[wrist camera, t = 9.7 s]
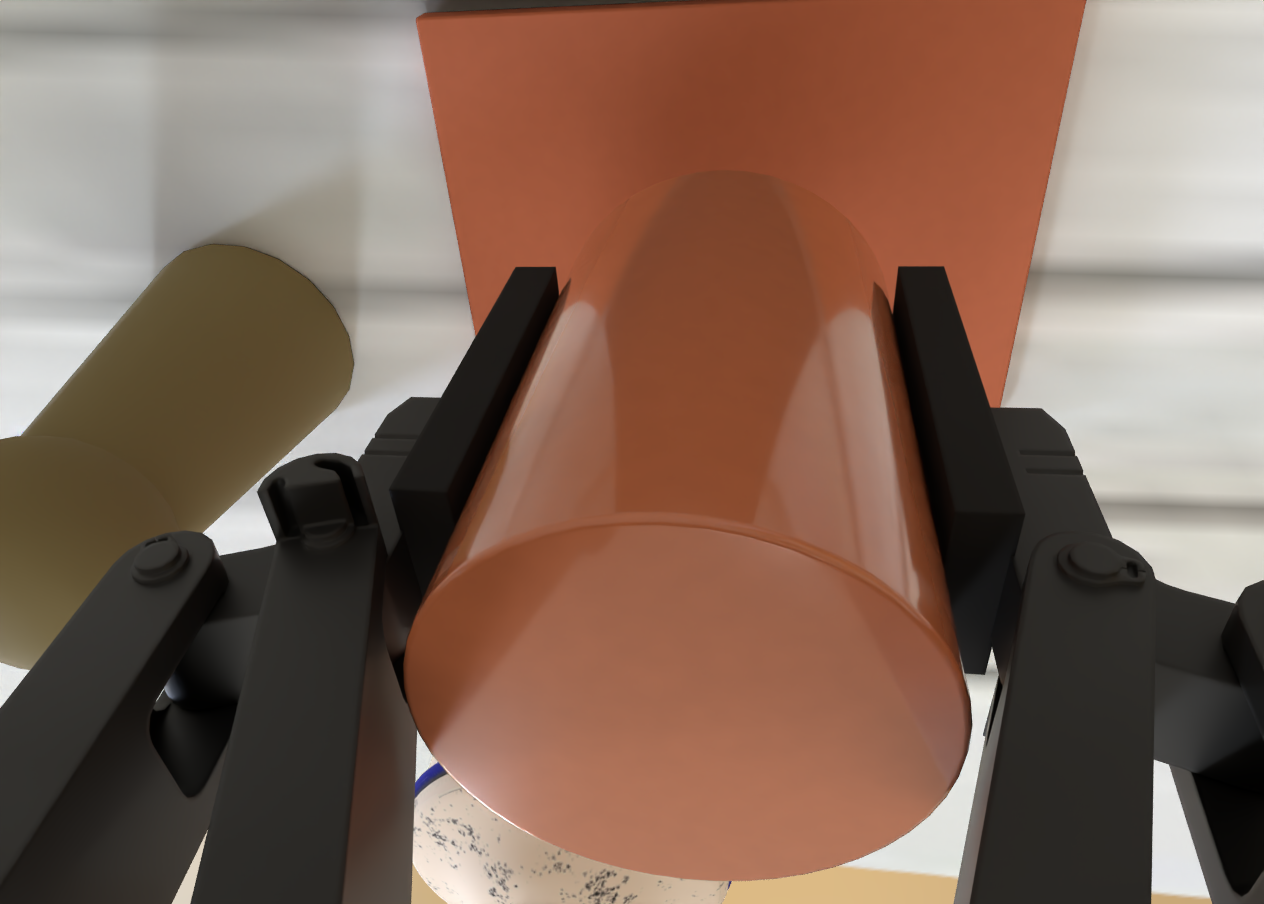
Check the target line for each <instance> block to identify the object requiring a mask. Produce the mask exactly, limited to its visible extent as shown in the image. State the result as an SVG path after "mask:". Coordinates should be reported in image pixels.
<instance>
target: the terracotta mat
mask: <svg viewBox="0 0 1264 904" xmlns="http://www.w3.org/2000/svg"><path fill="white" fill-rule="evenodd" d="M1085 3H1086V0H689V1H668V2H647V3H625V4H604V5H583V6H561V7H540V8H518V9H497V10H476V11H454V12H433V13H424V14H422V15H421V16H419V17H417V18H416V23H417V29H418V34H419V39H420V45H421V50H422V55H423V60H424V66H425V71H426V76H427V82H428V87H429V92H430V97H431V103H432V108H433V113H434V119H435V124H436V129H437V134H438V140H439V145H440V150H441V156H442V161H443V166H444V171H445V177H446V182H447V187H448V193H449V198H450V203H451V208H452V214H453V219H454V224H455V230H456V235H457V240H458V245H459V251H460V256H461V261H462V266H463V272H464V277H465V282H466V288H467V293H468V298H469V303H470V309H471V314H472V319H473V325H474V330H475V335H477V334H478V332H479V330H480V328H481V327H482V325H483V323H484V321H485V320H486V318H487V316H488V314H489V313H490V311H491V309H492V307H493V305H494V304H495V302H496V300H497V298H498V297H499V295H500V293H501V291H502V290H503V288H504V286H505V284H506V283H507V281H508V279H509V277H510V276H511V274H512V272H513V270H514V269H515V267H556V272H557V280H558V288H559V295H560V293H561V291H562V289H563V287H564V284H565V282H566V280H567V278H568V275H569V273H570V271H571V269H572V267H573V264H574V262H575V260H576V258H577V255H578V254H579V252H580V250H581V249H582V247H583V245H584V244H585V242H586V240H587V238H588V237H589V236H590V235H591V233H592V232H593V231H594V230H595V228H596V227H597V226H598V225H599V223H600V222H601V221H602V220H603V219H604V218H605V217H607V216H608V215H609V214H610V213H611V212H612V211H613V210H614V209H615V208H616V207H618V206H619V205H620V204H622V203H623V202H625V201H626V200H627V199H629V198H630V197H632V196H633V195H635V194H637V193H639V192H641V191H643V190H644V189H646V188H648V187H650V186H652V185H654V184H657V183H660V182H663V181H665V180H668V179H671V178H674V177H677V176H682V175H687V174H691V173H696V172H704V171H716V170H732V171H748V172H753V173H759V174H764V175H770V176H773V177H776V178H779V179H782V180H785V181H788V182H792V183H794V184H796V185H798V186H800V187H802V188H804V189H806V190H809V191H811V192H813V193H814V194H816V195H817V196H819V197H820V198H822V199H823V200H825V201H827V202H828V203H830V204H831V205H832V206H834V207H835V208H836V209H837V210H838V211H839V212H841V213H842V214H843V215H844V216H845V217H846V218H847V219H849V221H850V222H851V223H852V224H853V225H854V226H855V227H856V229H857V230H858V231H859V232H860V233H861V234H862V236H863V237H864V239H865V240H866V242H867V243H868V245H869V246H870V248H871V250H872V251H873V253H874V254H875V257H876V259H877V261H878V263H879V266H880V268H881V270H882V272H883V276H884V279H885V283H886V287H887V291H888V295H889V300H890V305H891V310H892V314H893V306H894V298H895V289H896V281H897V272H898V266H944V268H945V271H946V274H947V277H948V280H949V283H950V286H951V289H952V292H953V295H954V298H955V301H956V304H957V307H958V310H959V313H960V316H961V319H962V322H963V325H964V328H965V331H966V334H967V338H968V341H969V344H970V347H971V350H972V353H973V356H974V359H975V362H976V365H977V368H978V371H979V374H980V377H981V380H982V383H983V386H984V389H985V392H986V395H987V398H988V401H989V404H990V407H995V408H1000V405H1001V400H1002V396H1003V391H1004V386H1005V382H1006V377H1007V372H1008V367H1009V363H1010V358H1011V353H1012V348H1013V344H1014V339H1015V334H1016V330H1017V325H1018V320H1019V315H1020V311H1021V306H1022V301H1023V296H1024V292H1025V287H1026V282H1027V278H1028V273H1029V268H1030V263H1031V259H1032V254H1033V249H1034V244H1035V240H1036V235H1037V230H1038V226H1039V221H1040V216H1041V211H1042V207H1043V202H1044V197H1045V192H1046V188H1047V183H1048V178H1049V174H1050V169H1051V164H1052V159H1053V155H1054V150H1055V145H1056V140H1057V136H1058V131H1059V126H1060V122H1061V117H1062V112H1063V107H1064V103H1065V98H1066V93H1067V88H1068V84H1069V79H1070V74H1071V70H1072V65H1073V60H1074V55H1075V51H1076V46H1077V41H1078V36H1079V32H1080V27H1081V22H1082V18H1083V13H1084V8H1085Z"/></svg>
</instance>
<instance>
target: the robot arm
mask: <svg viewBox="0 0 1264 904" xmlns="http://www.w3.org/2000/svg"><path fill="white" fill-rule="evenodd" d="M558 298H559V288H558V280H557V272H556V267H515V269H514V270H513V272H512V274H511V276H510V277H509V279H508V281H507V283H506V284H505V286H504V288H503V290H502V291H501V293H500V295H499V297H498V298H497V300H496V302H495V304H494V305H493V307H492V309H491V311H490V313H489V314H488V316H487V318H486V320H485V321H484V323H483V325H482V327H481V328H480V330H479V332H478V334H477V335H476V337H475V339H474V341H473V342H472V344H471V346H470V348H469V349H468V351H467V353H466V355H465V356H464V358H463V360H462V362H461V363H460V365H459V367H458V369H457V370H456V372H455V374H454V376H453V377H452V379H451V381H450V383H449V384H448V386H447V388H446V390H445V391H444V393H443V395H442V397H441V398H428V397H410V398H409V399H408V400H406V401H405V402H404V403H402V404H401V405H400V406H398V407H397V408H396V409H394V410H393V411H392V412H390V413H389V414H388V415H387V416H386V418H385V419H384V421H383V423H382V424H381V426H380V427H379V429H378V430H377V432H376V433H375V438H372V440H371V441H370V443H369V444H368V446H367V447H366V449H365V454H364V455H361V457H360V458H359V460H358V462H357V461H356V460H355V459H353V458H352V457H350V456H346V455H342V454H337V453H325V454H314V455H310V456H306V457H302V458H298V459H295V460H293V461H291V462H289V463H287V464H285V465H283V466H281V467H279V468H277V469H276V470H275V471H274V472H272V473H271V474H270V475H269V476H268V477H266V478H265V479H264V481H263V482H262V484H261V486H260V487H259V489H258V491H257V493H258V496H259V498H260V501H261V503H262V506H263V508H264V511H265V513H266V516H267V518H268V521H269V523H270V526H271V528H272V531H273V533H274V536H275V538H276V545H272V546H268V547H264V548H259V549H254V550H248V551H243V552H237V553H232V554H226V555H221V556H219V554H218V552H217V550H216V548H215V545H214V543H213V541H212V540H211V539H210V538H208V537H207V536H206V535H204V534H203V533H199V532H193V531H186V530H185V531H177V532H169V533H164V534H161V535H158V536H156V537H152V538H150V539H147V540H145V541H143V542H141V543H140V544H138V545H136V546H135V547H133V548H131V549H129V550H128V551H126V552H125V553H124V554H123V555H122V556H121V557H120V558H119V559H118V560H117V561H116V562H115V563H114V564H113V565H112V566H111V567H110V569H109V570H108V571H107V573H106V574H105V575H104V576H103V578H102V579H101V580H100V581H99V583H98V584H97V585H96V587H95V588H94V589H93V590H92V592H91V593H90V594H89V596H88V597H87V598H86V599H85V601H84V602H83V603H82V605H81V606H80V607H79V608H78V610H77V611H76V612H75V613H74V615H73V616H72V617H71V619H70V620H69V621H68V622H67V624H66V625H65V626H64V628H63V629H62V630H61V631H60V633H59V634H58V635H57V636H56V638H55V639H54V640H53V642H52V643H51V644H50V645H49V647H48V648H47V649H46V651H45V652H44V653H43V654H42V656H41V657H40V658H39V660H38V661H37V662H36V663H35V665H34V666H33V667H32V668H31V670H30V671H29V672H28V674H27V675H26V676H25V677H24V679H23V680H22V681H21V683H20V684H19V685H18V686H17V688H16V689H15V690H14V692H13V693H12V694H11V695H10V697H9V698H8V699H7V700H6V702H5V703H4V704H3V706H2V707H1V708H0V904H172V902H173V900H174V898H175V896H176V893H177V892H178V889H179V887H180V885H181V883H182V881H183V879H184V877H185V875H186V873H187V871H188V869H189V867H190V865H191V863H192V861H193V859H194V857H195V855H196V853H197V851H198V848H199V846H200V844H201V842H202V840H203V838H204V836H205V834H206V832H207V830H208V832H207V836H206V840H205V845H204V849H203V853H202V857H201V862H200V866H199V870H198V874H197V878H196V883H195V887H194V891H193V896H192V899H191V904H411V891H412V861H413V832H414V803H415V773H416V744H417V728H416V725H415V723H414V721H413V718H412V716H411V714H410V711H409V707H408V703H407V698H406V694H405V690H404V674H403V658H404V652H405V645H406V639H407V636H408V633H409V631H410V628H411V626H412V623H413V620H414V618H415V615H416V613H417V611H418V609H419V606H420V604H421V602H422V600H423V597H424V595H425V593H426V591H427V589H428V586H429V584H430V582H431V580H432V577H433V575H434V573H435V571H436V569H437V566H438V564H439V562H440V560H441V557H442V555H443V553H444V551H445V549H446V546H447V544H448V542H449V540H450V537H451V535H452V533H453V531H454V529H455V526H456V524H457V522H458V520H459V518H460V515H461V513H462V511H463V509H464V506H465V504H466V502H467V500H468V498H469V495H470V493H471V491H472V489H473V486H474V484H475V482H476V480H477V478H478V475H479V473H480V471H481V469H482V466H483V464H484V462H485V460H486V458H487V455H488V453H489V451H490V449H491V446H492V444H493V442H494V440H495V438H496V435H497V433H498V431H499V429H500V426H501V424H502V422H503V420H504V418H505V415H506V413H507V411H508V409H509V406H510V404H511V402H512V400H513V398H514V395H515V393H516V391H517V389H518V386H519V384H520V382H521V380H522V378H523V375H524V373H525V371H526V369H527V367H528V364H529V362H530V360H531V358H532V355H533V353H534V351H535V349H536V347H537V344H538V342H539V340H540V338H541V335H542V333H543V331H544V329H545V327H546V324H547V322H548V320H549V318H550V315H551V313H552V311H553V309H554V307H555V304H556V302H557V300H558ZM892 315H893V319H894V324H895V329H896V334H897V339H898V344H899V349H900V354H901V359H902V364H903V369H904V374H905V379H906V384H907V389H908V393H909V398H910V403H911V408H912V413H913V418H914V423H915V428H916V433H917V438H918V443H919V448H920V453H921V458H922V462H923V467H924V472H925V477H926V482H927V487H928V492H929V497H930V502H931V507H932V512H933V517H934V522H935V527H936V532H937V536H938V541H939V546H940V551H941V556H942V561H943V566H944V571H945V576H946V581H947V586H948V591H949V596H950V601H951V606H952V610H953V615H954V620H955V625H956V630H957V635H958V640H959V645H960V650H961V655H962V660H963V665H964V670H965V673H966V674H982V675H985V673H986V669H987V665H988V661H989V657H990V653H991V649H992V648H993V652H994V656H995V661H996V665H997V669H998V673H999V676H998V680H997V684H996V688H995V691H994V695H993V699H992V703H991V706H990V710H989V714H988V718H987V721H986V725H985V729H984V733H983V736H985V741H984V747H983V752H982V757H981V762H980V768H979V773H978V778H977V784H976V789H975V794H974V799H973V805H972V810H971V815H970V820H969V826H968V831H967V836H966V841H965V847H964V852H963V857H962V863H961V868H960V873H959V878H958V884H957V889H956V894H955V899H954V904H1151V883H1152V825H1153V766H1154V760H1157V761H1160V762H1163V763H1166V764H1169V766H1170V769H1171V772H1172V775H1173V779H1174V782H1175V785H1176V788H1177V792H1178V795H1179V798H1180V801H1181V804H1182V808H1183V811H1184V814H1185V817H1186V821H1187V824H1188V827H1189V830H1190V833H1191V837H1192V840H1193V843H1194V846H1195V849H1196V853H1197V856H1198V859H1199V862H1200V866H1201V869H1202V872H1203V875H1204V878H1205V882H1206V885H1207V888H1208V891H1209V894H1210V898H1211V901H1212V904H1264V580H1262V581H1260V582H1257V583H1255V584H1253V585H1250V586H1248V587H1245V589H1244V591H1243V592H1242V594H1241V595H1240V597H1239V598H1238V600H1237V602H1236V604H1234V603H1230V602H1227V601H1223V600H1219V599H1215V598H1211V597H1207V596H1203V595H1199V594H1196V593H1192V592H1188V591H1185V590H1182V589H1179V588H1175V587H1172V586H1169V585H1166V584H1164V583H1162V582H1160V581H1158V580H1156V579H1155V576H1154V572H1153V569H1152V567H1151V566H1150V565H1149V564H1148V562H1147V561H1146V560H1145V559H1144V558H1143V557H1142V556H1141V555H1140V554H1139V552H1137V551H1135V550H1134V549H1132V548H1130V547H1129V546H1127V545H1125V544H1124V543H1122V542H1121V541H1119V540H1116V539H1113V538H1112V535H1111V533H1110V531H1109V529H1108V526H1107V524H1106V522H1105V519H1104V517H1103V515H1102V512H1101V510H1100V508H1099V506H1098V503H1097V501H1096V499H1095V496H1094V494H1093V492H1092V489H1091V487H1090V485H1089V483H1088V480H1087V478H1086V476H1085V475H1083V469H1082V467H1081V464H1080V462H1079V460H1078V457H1077V456H1075V450H1074V448H1073V446H1072V444H1071V441H1070V439H1069V437H1068V434H1067V432H1066V430H1065V428H1063V427H1062V426H1061V425H1060V424H1059V423H1058V422H1057V421H1055V420H1054V419H1053V418H1052V417H1051V416H1050V415H1048V414H1047V413H1046V412H1045V411H1044V410H1043V409H1041V408H995V407H990V404H989V401H988V398H987V395H986V392H985V389H984V386H983V383H982V380H981V377H980V374H979V371H978V368H977V365H976V362H975V359H974V356H973V353H972V350H971V347H970V344H969V341H968V338H967V334H966V331H965V328H964V325H963V322H962V319H961V316H960V313H959V310H958V307H957V304H956V301H955V298H954V295H953V292H952V289H951V286H950V283H949V280H948V277H947V274H946V271H945V268H944V266H898V272H897V281H896V289H895V298H894V306H893V314H892ZM163 689H164V691H163V692H162V690H163ZM161 692H162V694H161V695H160V693H161ZM159 695H160V697H159ZM158 697H159V699H158V700H157V698H158ZM156 700H157V702H156ZM155 702H156V703H155Z"/></svg>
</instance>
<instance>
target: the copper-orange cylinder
mask: <svg viewBox="0 0 1264 904" xmlns="http://www.w3.org/2000/svg"><path fill="white" fill-rule="evenodd" d="M403 674H404V690H405V694H406V698H407V703H408V707H409V711H410V714H411V716H412V718H413V721H414V723H415V725H416V728H417V730H418V732H419V734H420V736H421V738H422V739H423V741H424V742H425V744H426V746H427V747H428V749H429V751H430V752H431V754H432V755H433V756H434V758H435V759H436V760H437V761H438V762H439V764H440V765H441V766H442V767H443V769H444V770H445V771H446V772H447V773H448V775H450V776H451V777H452V778H453V779H454V780H455V781H456V782H457V783H458V784H459V785H460V786H461V787H462V788H463V789H464V790H465V791H466V792H467V793H468V794H470V795H471V796H472V797H473V798H475V799H476V800H477V801H478V802H480V803H481V804H482V805H484V806H485V807H486V808H487V809H489V810H490V811H492V812H493V813H495V814H496V815H498V816H499V817H501V818H503V819H504V820H506V821H507V822H509V823H510V824H512V825H514V826H515V827H517V828H519V829H521V830H523V831H525V832H527V833H529V834H530V835H532V836H534V837H536V838H538V839H540V840H542V841H545V842H547V843H549V844H552V845H554V846H556V847H558V848H561V849H563V850H565V851H568V852H571V853H574V854H577V855H579V856H582V857H585V858H588V859H591V860H593V861H597V862H601V863H604V864H608V865H611V866H615V867H619V868H622V869H627V870H632V871H637V872H642V873H646V874H651V875H658V876H665V877H672V878H680V879H691V880H706V881H752V880H765V879H777V878H783V877H790V876H796V875H803V874H808V873H812V872H816V871H820V870H824V869H828V868H833V867H836V866H839V865H842V864H845V863H848V862H851V861H854V860H856V859H859V858H862V857H864V856H866V855H868V854H871V853H873V852H875V851H877V850H879V849H881V848H884V847H886V846H888V845H889V844H891V843H892V842H894V841H896V840H897V839H899V838H901V837H902V836H904V835H906V834H907V833H909V832H910V831H911V830H913V829H914V828H915V827H916V826H918V825H919V824H920V823H921V822H922V821H924V820H925V819H926V818H927V817H929V816H930V815H931V813H932V812H933V811H934V810H935V809H936V808H937V807H938V806H939V805H940V803H941V802H942V801H943V800H944V799H945V798H946V797H947V795H948V793H949V792H950V790H951V788H952V787H953V785H954V784H955V782H956V780H957V779H958V777H959V775H960V772H961V769H962V767H963V764H964V761H965V759H966V756H967V753H968V750H969V745H970V738H971V731H972V713H971V700H970V694H969V689H968V684H967V680H966V675H965V670H964V665H963V660H962V655H961V650H960V645H959V640H958V635H957V630H956V625H955V620H954V615H953V610H952V606H951V601H950V596H949V591H948V586H947V581H946V576H945V571H944V566H943V561H942V556H941V551H940V546H939V541H938V536H937V532H936V527H935V522H934V517H933V512H932V507H931V502H930V497H929V492H928V487H927V482H926V477H925V472H924V467H923V462H922V458H921V453H920V448H919V443H918V438H917V433H916V428H915V423H914V418H913V413H912V408H911V403H910V398H909V393H908V389H907V384H906V379H905V374H904V369H903V364H902V359H901V354H900V349H899V344H898V339H897V334H896V329H895V324H894V319H893V315H892V310H891V305H890V300H889V295H888V291H887V287H886V283H885V279H884V276H883V272H882V270H881V268H880V266H879V263H878V261H877V259H876V257H875V254H874V253H873V251H872V250H871V248H870V246H869V245H868V243H867V242H866V240H865V239H864V237H863V236H862V234H861V233H860V232H859V231H858V230H857V229H856V227H855V226H854V225H853V224H852V223H851V222H850V221H849V219H847V218H846V217H845V216H844V215H843V214H842V213H841V212H839V211H838V210H837V209H836V208H835V207H834V206H832V205H831V204H830V203H828V202H827V201H825V200H823V199H822V198H820V197H819V196H817V195H816V194H814V193H813V192H811V191H809V190H806V189H804V188H802V187H800V186H798V185H796V184H794V183H792V182H788V181H785V180H782V179H779V178H776V177H773V176H770V175H764V174H759V173H753V172H748V171H732V170H716V171H704V172H696V173H691V174H687V175H682V176H677V177H674V178H671V179H668V180H665V181H663V182H660V183H657V184H654V185H652V186H650V187H648V188H646V189H644V190H643V191H641V192H639V193H637V194H635V195H633V196H632V197H630V198H629V199H627V200H626V201H625V202H623V203H622V204H620V205H619V206H618V207H616V208H615V209H614V210H613V211H612V212H611V213H610V214H609V215H608V216H607V217H605V218H604V219H603V220H602V221H601V222H600V223H599V225H598V226H597V227H596V228H595V230H594V231H593V232H592V233H591V235H590V236H589V237H588V238H587V240H586V242H585V244H584V245H583V247H582V249H581V250H580V252H579V254H578V255H577V258H576V260H575V262H574V264H573V267H572V269H571V271H570V273H569V275H568V278H567V280H566V282H565V284H564V287H563V289H562V291H561V293H560V295H559V298H558V300H557V302H556V304H555V307H554V309H553V311H552V313H551V315H550V318H549V320H548V322H547V324H546V327H545V329H544V331H543V333H542V335H541V338H540V340H539V342H538V344H537V347H536V349H535V351H534V353H533V355H532V358H531V360H530V362H529V364H528V367H527V369H526V371H525V373H524V375H523V378H522V380H521V382H520V384H519V386H518V389H517V391H516V393H515V395H514V398H513V400H512V402H511V404H510V406H509V409H508V411H507V413H506V415H505V418H504V420H503V422H502V424H501V426H500V429H499V431H498V433H497V435H496V438H495V440H494V442H493V444H492V446H491V449H490V451H489V453H488V455H487V458H486V460H485V462H484V464H483V466H482V469H481V471H480V473H479V475H478V478H477V480H476V482H475V484H474V486H473V489H472V491H471V493H470V495H469V498H468V500H467V502H466V504H465V506H464V509H463V511H462V513H461V515H460V518H459V520H458V522H457V524H456V526H455V529H454V531H453V533H452V535H451V537H450V540H449V542H448V544H447V546H446V549H445V551H444V553H443V555H442V557H441V560H440V562H439V564H438V566H437V569H436V571H435V573H434V575H433V577H432V580H431V582H430V584H429V586H428V589H427V591H426V593H425V595H424V597H423V600H422V602H421V604H420V606H419V609H418V611H417V613H416V615H415V618H414V620H413V623H412V626H411V628H410V631H409V633H408V636H407V639H406V645H405V652H404V658H403Z"/></svg>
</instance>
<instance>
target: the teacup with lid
mask: <svg viewBox="0 0 1264 904" xmlns="http://www.w3.org/2000/svg"><path fill="white" fill-rule="evenodd" d="M412 862H413V864H414V866H415V868H416V870H417V871H418V873H419V874H420V876H421V877H422V878H423V880H424V881H425V882H426V883H427V884H428V886H429V887H430V888H431V889H432V890H433V891H435V893H436V894H437V895H438V896H439V897H441V898H442V899H443V900H444V901H445V902H447V903H448V904H722V902H723V901H724V898H725V896H726V893H727V890H728V889H729V887H730V884H731V882H732V881H706V880H691V879H680V878H672V877H665V876H658V875H651V874H646V873H642V872H637V871H632V870H627V869H622V868H619V867H615V866H611V865H608V864H604V863H601V862H597V861H593V860H591V859H588V858H585V857H582V856H579V855H577V854H574V853H571V852H568V851H565V850H563V849H561V848H558V847H556V846H554V845H552V844H549V843H547V842H545V841H542V840H540V839H538V838H536V837H534V836H532V835H530V834H529V833H527V832H525V831H523V830H521V829H519V828H517V827H515V826H514V825H512V824H510V823H509V822H507V821H506V820H504V819H503V818H501V817H499V816H498V815H496V814H495V813H493V812H492V811H490V810H489V809H487V808H486V807H485V806H484V805H482V804H481V803H480V802H478V801H477V800H476V799H475V798H473V797H472V796H471V795H470V794H468V793H467V792H466V791H465V790H464V789H463V788H462V787H461V786H460V785H459V784H458V783H457V782H456V781H455V780H454V779H453V778H452V777H451V776H450V775H448V773H447V772H446V771H445V770H444V769H443V767H442V766H441V765H440V764H439V762H438V761H437V760H436V759H435V758H434V756H433V757H432V759H431V762H430V765H429V768H428V770H427V771H426V772H424V773H423V774H422V775H421V776H420V778H419V779H418V780H417V781H416V783H415V803H414V832H413V861H412Z"/></svg>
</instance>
